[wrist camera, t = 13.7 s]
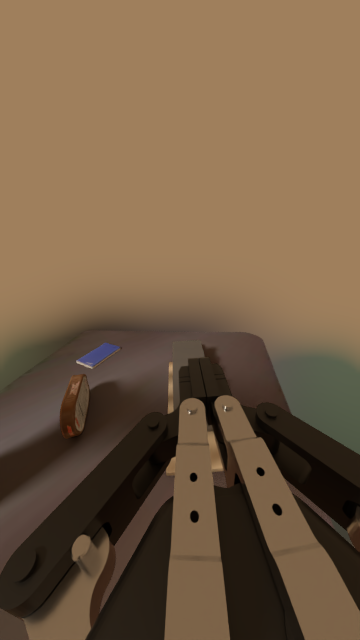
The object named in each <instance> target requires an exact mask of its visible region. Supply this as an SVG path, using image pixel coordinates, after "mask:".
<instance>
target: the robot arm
mask: <svg viewBox="0 0 360 640" xmlns="http://www.w3.org/2000/svg"><path fill="white" fill-rule="evenodd" d="M178 372H179V395H180V403H179V406H178V407H177V409H176V410H174V411H173V412H171V413H169V414H167V415H163V414H161V413H159V412H153V413H150V414H148V415H146V416H145V417H144V418H143V419H142V420H141V421H140V422H139V423H138V424H137V425H136V426H135V427H134V428H133V429H132V430H131V431H130V432H129V433H128V434H127V435H126V437H125V438H124V439H123V440H122V441H121V442H120V443H119V444H118V445H117V446H116V447H115V448H114V449H113V450H112V451H111V452H110V453H109V454H108V455H107V456H106V457H105V458H104V459H103V460H102V461H101V462H100V463H99V464H98V466H97V467H96V468H95V469H94V470H93V471H92V472H91V473H90V474H89V475H88V476H87V477H86V478H85V479H84V480H83V481H82V482H81V483H80V484H79V485H78V486H77V487H76V488H75V489H74V490H73V491H72V492H71V494H70V495H69V496H68V497H67V498H66V499H65V500H64V501H63V502H62V503H61V504H60V505H59V506H58V507H57V508H56V509H55V510H54V511H53V512H52V513H51V514H50V515H49V516H48V517H47V518H46V519H45V520H44V521H43V523H42V524H41V525H40V526H39V527H38V528H37V529H36V530H35V531H34V532H33V533H32V534H31V535H30V536H29V537H28V538H27V539H26V540H25V541H24V542H23V543H22V544H21V545H20V546H19V547H18V549H17V550H16V551H15V552H14V553H13V555H12V556H11V557H10V559H9V560H8V562H7V563H6V565H5V567H4V569H3V571H2V573H1V575H0V608H1V609H3V610H5V611H7V612H8V613H10V614H12V615H14V616H15V617H17V618H19V619H21V620H22V621H24V622H25V626H26V629H27V632H28V635H29V639H30V640H360V455H359V454H357V453H355V452H354V451H352V450H350V449H349V448H347V447H345V446H344V445H342V444H340V443H339V442H337V441H335V440H334V439H332V438H330V437H329V436H327V435H325V434H324V433H322V432H320V431H319V430H317V429H315V428H313V427H312V426H310V425H308V424H307V423H305V422H303V421H302V420H300V419H298V418H297V417H295V416H293V415H292V414H290V413H288V412H287V411H285V410H283V409H282V408H280V407H278V406H276V405H274V404H272V403H261V404H259V405H258V406H257V408H256V409H255V408H250V407H245V406H243V405H240V403H239V402H238V400H237V399H235V398H234V397H232V394H231V391H230V389H229V386H228V383H227V381H226V378H225V375H224V373H223V370H222V368H221V367H220V366H219V365H218V364H217V363H216V364H211V362H210V359H209V357H201V358H188V366H181V368H180V370H179V371H178ZM207 424H208V426H209V425H212V428H213V432H214V438H215V442H216V445H217V449H218V452H219V456H220V459H221V463H222V466H223V470H224V473H225V478H226V485H227V488H222V487H218V486H214V485H213V476H212V466H211V457H210V447H209V443H208V434H207ZM174 457H176V463H175V482H174V496H172V497H171V498H170V499H168V500H167V501H166V502H165V503H164V504H163V505H162V506H161V508H160V509H159V510H158V512H157V513H156V515H155V516H154V518H153V520H152V522H151V523H150V525H149V527H148V529H147V530H146V532H145V534H144V536H143V538H142V539H141V541H140V543H139V545H138V546H137V548H136V550H135V552H134V554H133V555H132V557H131V559H130V561H129V562H128V564H127V566H126V568H125V569H124V571H123V573H122V575H121V577H120V578H119V580H118V582H117V584H116V585H115V587H114V589H113V591H112V593H111V594H110V596H109V598H108V600H107V601H106V603H105V605H104V607H103V608H102V610H101V612H100V606H101V602H102V598H103V595H104V593H105V590H106V588H107V586H108V584H109V582H110V580H111V578H112V575H113V572H114V568H115V562H116V553H115V548H114V545H115V544H116V543H117V541H118V540H119V538H120V537H121V535H122V534H123V532H124V531H125V529H126V528H127V526H128V525H129V523H130V522H131V520H132V519H133V517H134V516H135V514H136V513H137V511H138V510H139V508H140V507H141V505H142V504H143V502H144V501H145V499H146V498H147V496H148V495H149V493H150V492H151V490H152V489H153V487H154V486H155V484H156V483H157V481H158V480H159V479H160V477H161V476H162V474H163V473H164V471H165V470H166V468H167V467H168V465H169V464H170V462H171V458H174ZM283 477H284V478H285V479H286V480H287V481H288V482H290V483H291V484H292V485H293V486H294V487H295V488H297V489H298V490H299V491H300V492H301V493H303V494H304V495H305V496H306V497H307V498H308V499H310V500H311V501H312V502H313V503H314V504H316V505H317V506H318V507H319V508H320V509H321V510H323V511H324V512H325V513H326V514H327V515H329V516H330V517H331V518H332V519H334V521H336V522H337V523H338V524H339V525H340V526H342V527H343V528H344V529H345V530H346V531H348V535H349V537H350V540H351V542H352V544H353V545H354V547H355V548H354V547H353V546H352V545H351V544H350V543H349V542H347V541H346V540H345V539H344V538H343V537H342V536H341V535H340V534H339V533H338V532H336V531H335V530H334V529H333V528H332V527H331V526H330V525H329V524H328V523H327V522H325V521H324V520H323V519H322V518H321V517H320V516H319V515H318V514H317V513H316V512H315V511H313V510H312V509H311V508H310V507H309V506H308V505H307V504H306V503H305V502H303V501H302V500H301V499H300V498H298V497H297V496H296V495H294V494H292V493H291V491H290V489H289V487H288V485H287V484H286V482H285V480H284V478H283ZM99 612H100V614H99Z"/></svg>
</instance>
